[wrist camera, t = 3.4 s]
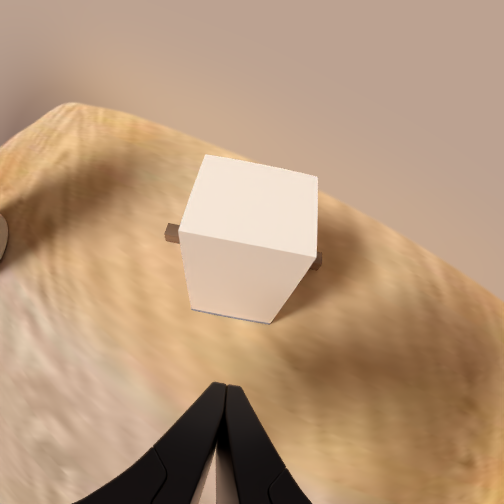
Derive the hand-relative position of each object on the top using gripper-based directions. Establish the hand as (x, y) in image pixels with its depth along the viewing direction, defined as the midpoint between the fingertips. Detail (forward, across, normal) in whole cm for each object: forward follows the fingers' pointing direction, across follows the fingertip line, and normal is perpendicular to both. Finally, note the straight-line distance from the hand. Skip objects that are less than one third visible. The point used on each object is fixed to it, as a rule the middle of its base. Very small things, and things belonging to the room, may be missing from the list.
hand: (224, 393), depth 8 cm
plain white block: (+13, 0, +2) cm, 13 cm away
